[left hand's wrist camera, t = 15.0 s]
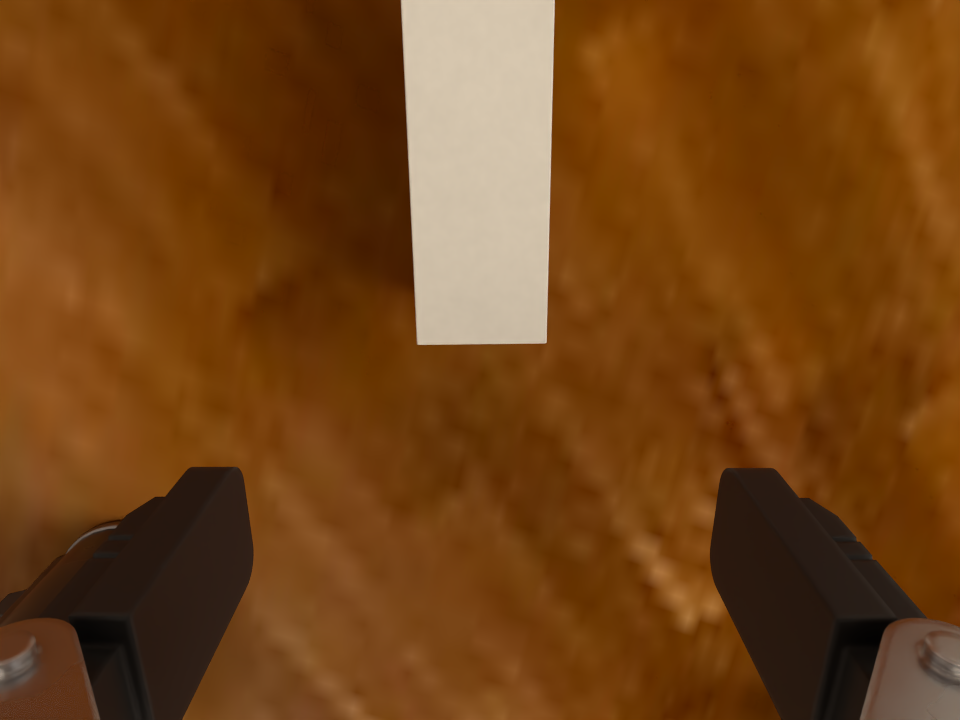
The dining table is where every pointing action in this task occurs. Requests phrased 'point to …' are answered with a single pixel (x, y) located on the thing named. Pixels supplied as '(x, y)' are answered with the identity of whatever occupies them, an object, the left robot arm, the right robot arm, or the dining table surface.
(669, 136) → the dining table surface
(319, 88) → the dining table surface
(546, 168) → the bar
